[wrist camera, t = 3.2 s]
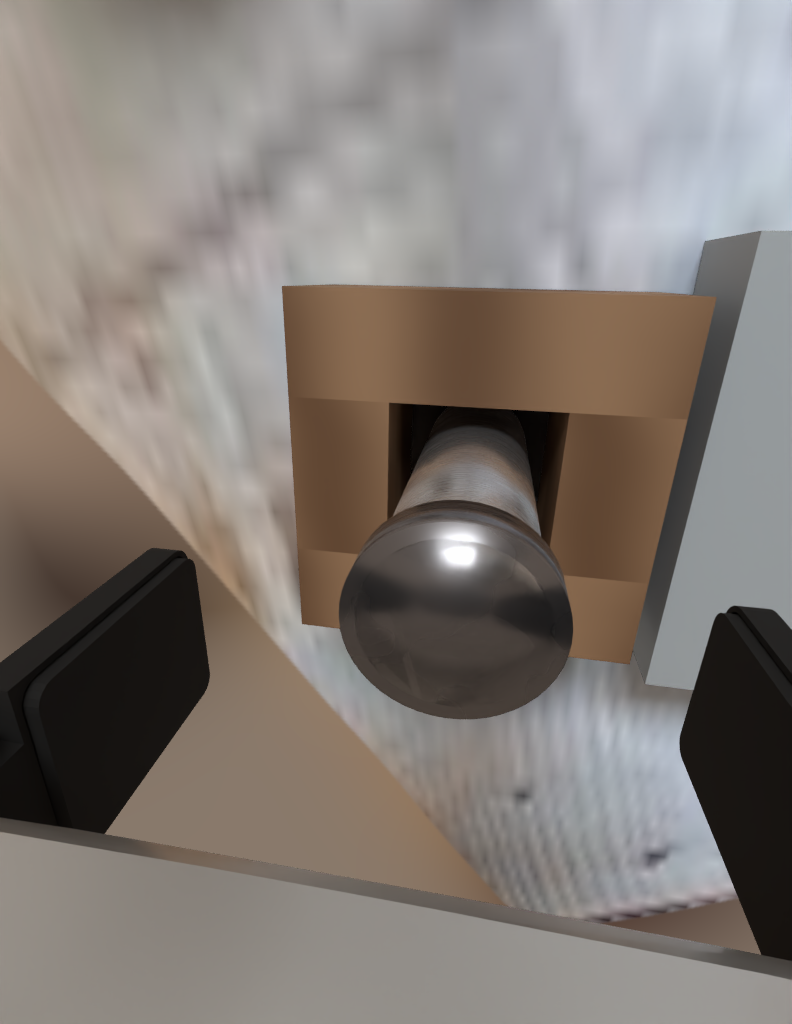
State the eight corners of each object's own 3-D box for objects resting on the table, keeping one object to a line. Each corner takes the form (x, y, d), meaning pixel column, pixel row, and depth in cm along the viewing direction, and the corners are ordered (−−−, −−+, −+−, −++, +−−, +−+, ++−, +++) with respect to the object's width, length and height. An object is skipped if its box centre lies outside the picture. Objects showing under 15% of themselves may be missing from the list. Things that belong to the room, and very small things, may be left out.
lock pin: (540, 391, 19) (591, 534, 9) (526, 499, 21) (555, 733, 10) (424, 385, 20) (335, 511, 9) (420, 491, 22) (340, 702, 11)
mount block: (660, 292, 18) (716, 296, 13) (602, 584, 22) (629, 664, 17) (333, 284, 19) (282, 286, 15) (339, 558, 24) (302, 623, 19)
